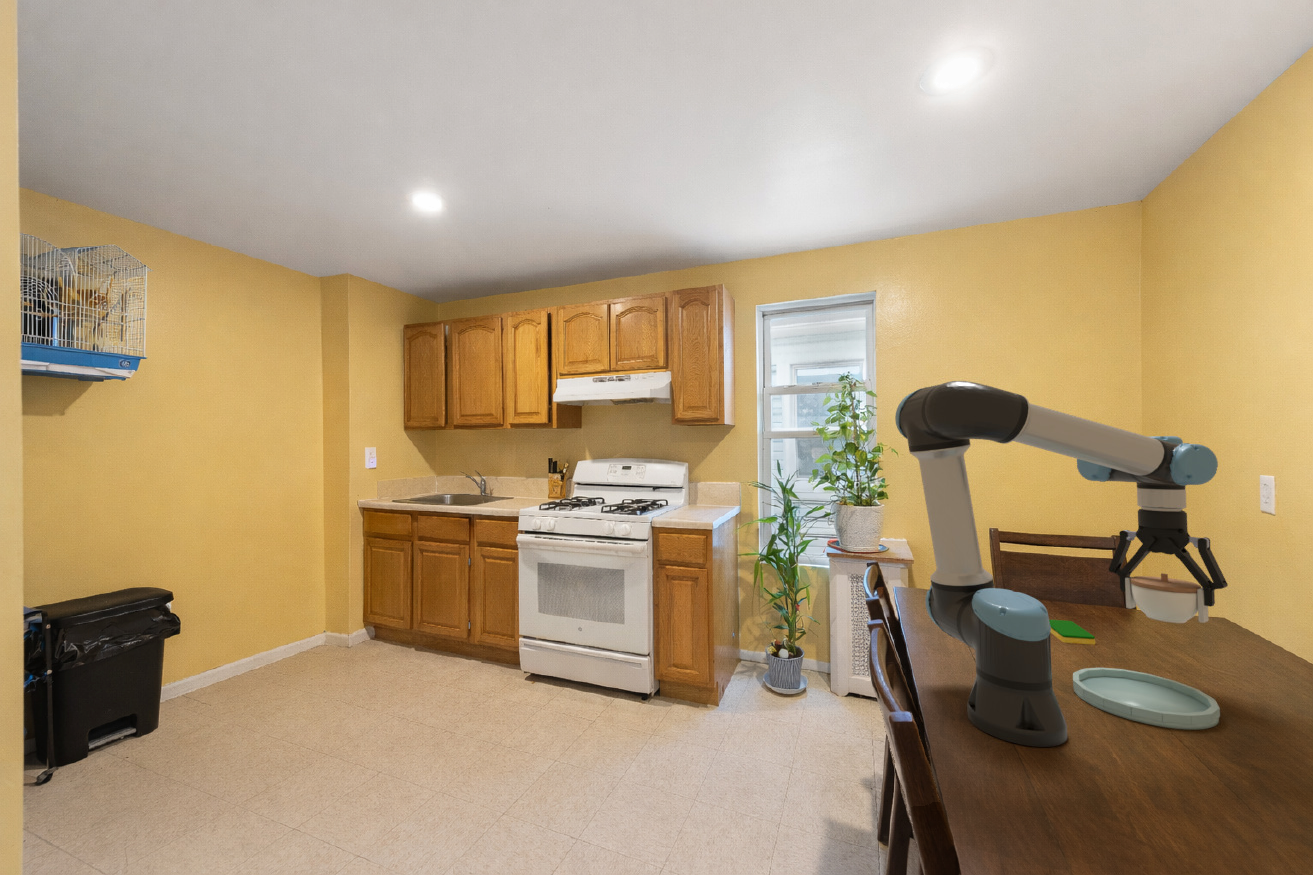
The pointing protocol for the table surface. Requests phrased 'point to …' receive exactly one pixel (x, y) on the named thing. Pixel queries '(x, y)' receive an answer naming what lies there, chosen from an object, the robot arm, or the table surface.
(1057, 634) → the dish sponge
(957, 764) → the table surface
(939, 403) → the robot arm
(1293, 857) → the table surface
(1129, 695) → the round tray
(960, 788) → the table surface
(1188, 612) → the lidded jar
